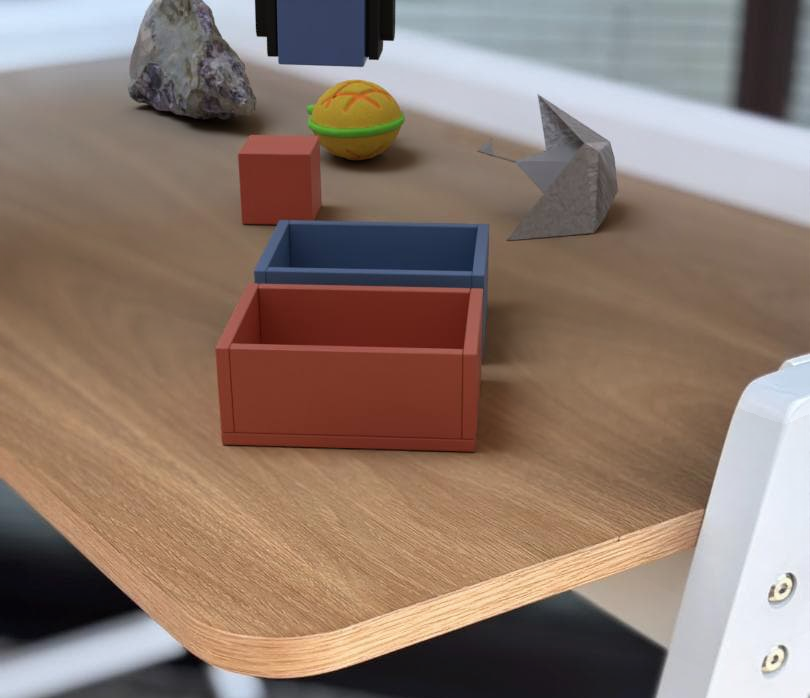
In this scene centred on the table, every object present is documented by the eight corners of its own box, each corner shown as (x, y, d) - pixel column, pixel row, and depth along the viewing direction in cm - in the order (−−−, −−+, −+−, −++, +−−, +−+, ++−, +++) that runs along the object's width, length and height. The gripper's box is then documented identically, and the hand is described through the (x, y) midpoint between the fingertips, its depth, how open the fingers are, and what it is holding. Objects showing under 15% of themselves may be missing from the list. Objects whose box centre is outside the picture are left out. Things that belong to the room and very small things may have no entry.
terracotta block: (241, 224, 94) (237, 153, 92) (253, 203, 98) (249, 134, 96) (312, 225, 94) (310, 154, 92) (321, 204, 98) (319, 135, 96)
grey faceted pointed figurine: (621, 232, 88) (472, 190, 88) (590, 295, 94) (449, 256, 93) (646, 85, 94) (505, 44, 93) (614, 153, 100) (481, 115, 99)
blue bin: (258, 358, 75) (253, 270, 73) (282, 301, 82) (279, 219, 80) (482, 364, 74) (484, 275, 72) (487, 306, 81) (489, 223, 79)
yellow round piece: (318, 175, 104) (315, 96, 101) (297, 139, 113) (294, 66, 110) (415, 169, 105) (414, 91, 103) (386, 134, 114) (386, 61, 111)
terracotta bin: (221, 444, 66) (214, 347, 64) (252, 372, 73) (247, 282, 71) (475, 452, 65) (477, 354, 63) (481, 378, 73) (483, 288, 70)
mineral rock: (255, 137, 113) (248, -2, 108) (112, 139, 113) (98, -1, 108) (263, 98, 124) (257, -30, 119) (133, 99, 124) (122, -29, 119)
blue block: (278, 64, 78) (275, -27, 76) (290, 47, 82) (288, -40, 80) (364, 67, 78) (364, -24, 76) (371, 50, 82) (372, -38, 80)
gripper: (127, -350, 68) (154, 63, 77) (499, -343, 67) (482, 73, 76) (163, -345, 75) (183, 35, 84) (502, -339, 74) (486, 44, 83)
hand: (326, 49), depth 80 cm, fingers closed on blue block, 4 cm apart
